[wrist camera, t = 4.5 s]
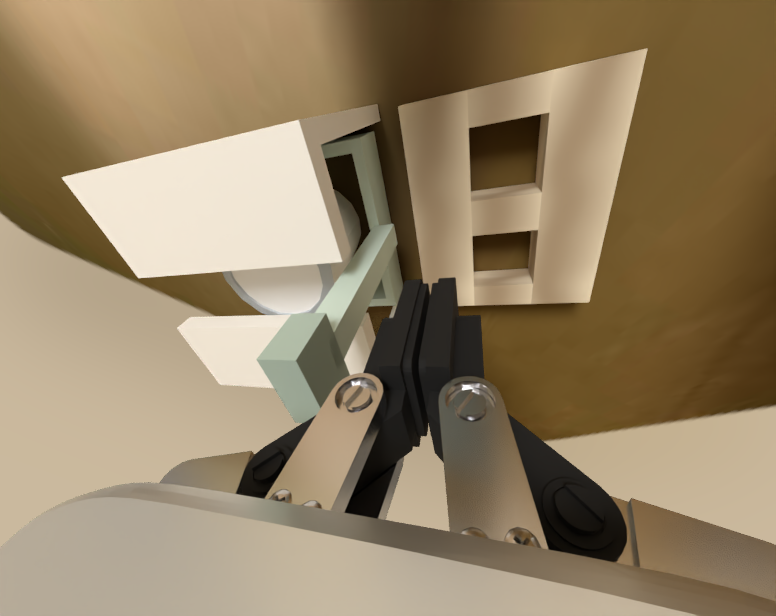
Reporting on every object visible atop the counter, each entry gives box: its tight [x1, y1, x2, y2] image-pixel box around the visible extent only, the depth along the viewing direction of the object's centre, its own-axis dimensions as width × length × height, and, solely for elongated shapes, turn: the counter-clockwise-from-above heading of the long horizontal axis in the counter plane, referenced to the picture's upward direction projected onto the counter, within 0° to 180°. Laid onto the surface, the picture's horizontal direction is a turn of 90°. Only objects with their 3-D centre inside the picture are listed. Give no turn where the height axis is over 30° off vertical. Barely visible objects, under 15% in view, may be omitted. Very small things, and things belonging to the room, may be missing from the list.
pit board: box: [398, 48, 648, 306], centre depth 17 cm, size 10×12×2 cm
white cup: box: [222, 189, 361, 315], centre depth 19 cm, size 7×7×7 cm
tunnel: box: [62, 104, 403, 388], centre depth 18 cm, size 11×13×10 cm
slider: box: [256, 131, 403, 423], centre depth 15 cm, size 11×10×14 cm
